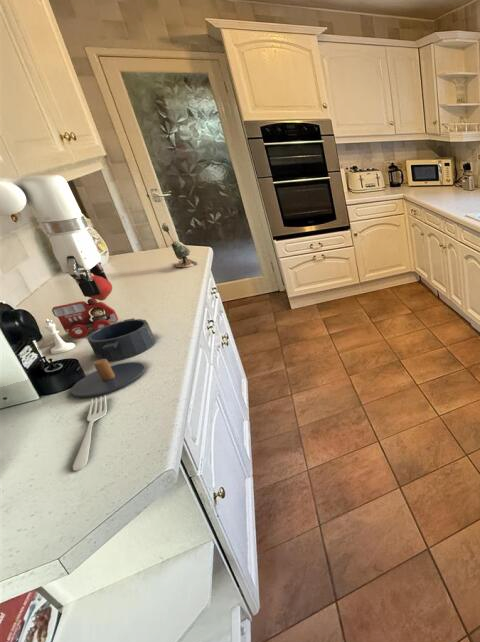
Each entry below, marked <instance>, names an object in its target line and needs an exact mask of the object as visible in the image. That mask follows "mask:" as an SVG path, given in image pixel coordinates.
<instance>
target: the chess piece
mask: <svg viewBox="0 0 480 642" xmlns="http://www.w3.org/2000/svg"><path fill="white" fill-rule="evenodd" d="M52 322H53V320H52V319H51V320H49V319H48V318H45V319H44V321H42V324H46V325H44V328H45V329H46V330H48V331H49V332H48V335H49V336H52V338H53V340H54V344H55V345H54V346H53V347H52V348H51V349H50V354H52V355H56V354H58V355H59V354H62V353H65V352H68V351H71V350H73V349H74V348H75V347H76V344H75V343H74V342H66V341H64V340H63V339H62V338H61V336H60V335H59V333H60V330H57V329H56V324H55V323H52Z"/></svg>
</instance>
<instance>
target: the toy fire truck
mask: <svg viewBox="0 0 480 642" xmlns="http://www.w3.org/2000/svg"><path fill="white" fill-rule="evenodd" d="M51 313H52V314H53V316H54V317H56V318H57V319H58V321H59V322H60V325H61V326H62V328H63V330H64V331H65V333H67V334H69V336H70V337H71V338H74V339H82V338H85V337H86V336H87V335H88V334H89V329H92V330H93V332H94V331H96V330H98V329H100V328H103V327H105V326H108V325H110V324H114V323H117V322H118V320H119V317H118V315H117V312H116V310H115V309H114V308H112V307H110V306H109V305H107V304H106V303H104V302H102V301H98V300H97V299H93V298H88V299H87V302H86V301H84V300H82V301H81V300H80V301H76V302H71V303H66V304H61V305H57V306H54V307H52V309H51Z"/></svg>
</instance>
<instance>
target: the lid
mask: <svg viewBox="0 0 480 642" xmlns="http://www.w3.org/2000/svg"><path fill="white" fill-rule="evenodd" d="M93 365H94V367H95V369H96V371H94V372H92V373H90V374H88V375H86V376H84V377H83V378H81V379H80V380H78V381H76V383H74V385H73V386H72V387H71V389H70V393H71V394H72V395H73V396H75V397H79V398H88V397H95V396H100V395H105V394H107V393H110V392H112V391H115V390H118V389H120V388H123V387H125V386H127V385H129V384H130V383H132V382H134V381H136V380H137V379H138V378H140V377H141V376H142V375H143V374H144V372H145V370H146V367H145V365H144V364H143V363H140V362H134V361H133V362H132V361H131V362H124V363H118V364H114V365H111V364H110V362H108V361H107V359H101V360H98V359H97V360H96V361H94V362H93Z"/></svg>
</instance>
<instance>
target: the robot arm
mask: <svg viewBox="0 0 480 642" xmlns="http://www.w3.org/2000/svg"><path fill="white" fill-rule="evenodd" d="M25 207H31V208H32V209H33V211H34V213H35V215H36V217H37V219H38V221H39V223H40V226H41V227H42V228H43V230H44V232H45V235H46V236H48V238H49V242H50V245H51V248H52V250H53V253H54V255H55V258H56V260H57V262H58V264H59V267H60V269H61V271H62V272H63V273H64V274H68V275H69V276H70V277H71V278H72V279H74V281H75V283H76V284H77V286H78V287H79V289H80V291H81V293H82V296H83V297H85V298H89V297H88V296H94V295H100V294H101V292H100V290H99V288H98V286H97V284H96V282H95V280H92V277H91V273H93V274H94V275H96V276H100V277H103V278H105V279H107V280H108V281H109V279H108V277H107V275H106V273H105V270H104V267H103V266H102V256H101V254H100V251H99V249H98V248H97V246H96V244H95V242H94V240H93V238H92V236H91V235H90V233H89V231H88V230H89V229H90V228H89V227H90V226H89V225H88V223H87V221H86V219H85V217H84V215H83V213H82V210H81V208H80V206H79V204H78V202H77V200H76V197H75V196H74V194H73V191H72V190H71V187H70V185H69V183H68V182H67V179H66V178H64V176H62V175H59V174H38V175H29V176H25V177H0V216H11V215H15V214H18V213H20V212H21V211H23V210H24V208H25Z"/></svg>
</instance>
